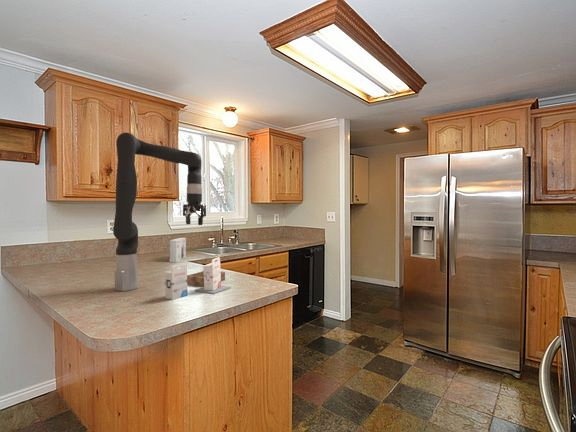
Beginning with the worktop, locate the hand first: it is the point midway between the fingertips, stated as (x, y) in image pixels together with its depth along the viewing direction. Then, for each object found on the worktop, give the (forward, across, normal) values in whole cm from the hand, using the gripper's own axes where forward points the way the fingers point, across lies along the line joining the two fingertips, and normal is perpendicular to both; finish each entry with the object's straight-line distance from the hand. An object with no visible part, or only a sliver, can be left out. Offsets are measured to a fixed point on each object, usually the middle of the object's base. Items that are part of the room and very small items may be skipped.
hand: (194, 224), depth 166 cm
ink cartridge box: (+30, +16, -3) cm, 34 cm away
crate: (+31, +2, +6) cm, 31 cm away
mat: (+30, +16, -3) cm, 35 cm away
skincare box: (+32, -68, +49) cm, 89 cm away
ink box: (+31, +11, -20) cm, 39 cm away
